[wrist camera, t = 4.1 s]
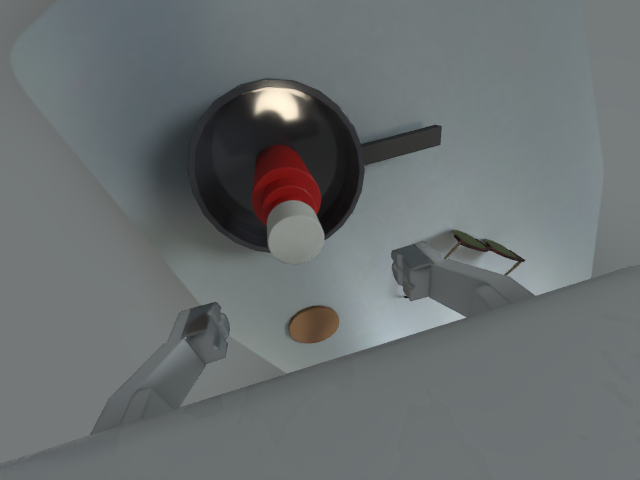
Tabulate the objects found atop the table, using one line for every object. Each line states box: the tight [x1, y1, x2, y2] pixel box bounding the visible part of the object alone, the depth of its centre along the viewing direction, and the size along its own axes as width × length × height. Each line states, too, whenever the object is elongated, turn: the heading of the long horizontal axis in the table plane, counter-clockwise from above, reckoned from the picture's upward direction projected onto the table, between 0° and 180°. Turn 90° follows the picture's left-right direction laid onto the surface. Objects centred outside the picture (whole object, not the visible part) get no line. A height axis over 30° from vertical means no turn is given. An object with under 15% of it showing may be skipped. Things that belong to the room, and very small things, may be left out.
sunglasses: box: [404, 230, 525, 298], centre depth 42 cm, size 14×15×5 cm
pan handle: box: [361, 125, 442, 165], centre depth 27 cm, size 9×2×1 cm, turn 102°
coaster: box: [289, 306, 339, 343], centre depth 43 cm, size 9×9×1 cm
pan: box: [188, 79, 365, 253], centre depth 26 cm, size 17×17×5 cm
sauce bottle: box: [252, 145, 324, 265], centre depth 21 cm, size 6×6×16 cm
